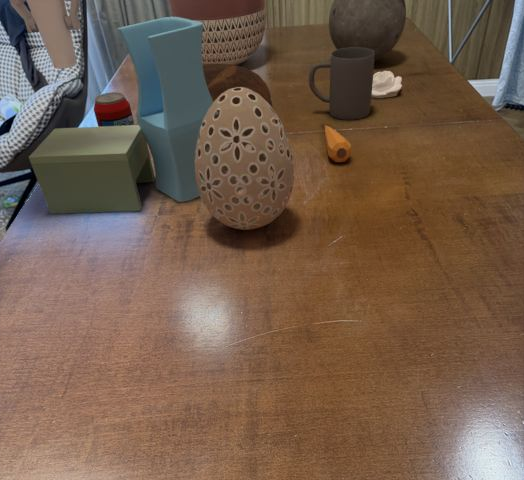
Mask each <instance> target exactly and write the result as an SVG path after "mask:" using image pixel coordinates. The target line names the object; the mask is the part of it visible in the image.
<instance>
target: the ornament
mask: <svg viewBox="0 0 524 480" xmlns="http://www.w3.org/2000/svg"><path fill="white" fill-rule="evenodd" d="M236 88H241V90H235V89H236ZM222 97H225V99H224V100H223V101H221V102H219V100H220V99H221V98H222ZM217 110H220V112H219V113H218V114H215V112H216V111H217ZM255 113H256V114H257V115H256V114H255ZM273 120H274V122H273ZM202 125H203V127H202ZM202 125H201V127H200V131H199V134H198V139H197V144H196V150H195V176H196V182H197V187H198V191H199V193H200V196H199V197H200V198H201V201H202V203H203V205H204V206H205V208H206V210H207V211H208V212H209V213H210V214H211V216H213V218H214V219H216V220H217V221H219V222H220V223H222V224H223V225H225V226H227V227H230V228H231V229H236V230H243V231H244V230H245V231H247V230H254V229H259V228H262V227H265V226H267V225H268V224H271V223H272V222H274V220H276V219H277V218H278V217H279V216H280V215H281V214H282V213H283V211H284V209H285V208H286V206H287V204H288V203H289V200H290V198H291V195H292V191H293V188H294V181H295V180H294V179H295V167H294V166H295V165H294V164H295V163H294V157H293V151H292V147H291V144H290V139H289V137H288V134H287V132H286V129H285V128H284V125H283V123H282V120H281V119H280V118H279V116H278V115H277V113H276V111H275V110H274V108H273V107H272V106H271V104H269V103H268V102H267V101H266V100H265V99H264V98H263V97H261V96H260V95H259V94H257V93H256V92H254V91H252V90H250V89H248V88H244V87H235V88H231V89H228V90H227V91H225V92H224V93H222V94H221V95H220V96H219V97H218V98H217V99H216V100H215V101H214V102H213V104H212V105H211V107H210V108H209V110H208V111H207V113H206V115H205V117H204V119H203V122H202ZM265 126H266V127H265ZM281 130H282V131H281ZM268 143H270V145H271V146H269V145H268ZM226 144H228V146H226V147H225V148H224V146H225V145H226ZM247 145H250V146H251V149H250V148H247V147H246V146H247ZM281 147H282V148H283V150H282V149H280V148H281ZM199 148H200V149H199ZM208 148H210V150H209V152H208V151H207V149H208ZM214 156H215V159H214V161H213V160H212V158H213V157H214ZM271 171H272V172H273V173H272V174H273V175H271ZM199 173H200V174H199ZM202 176H203V177H204V180H205V182H204V181H203V180H202ZM260 179H261V180H260ZM259 180H260V181H259ZM212 183H213V185H212ZM219 183H220V184H219ZM209 184H210V185H211V186H210V185H209ZM242 190H244V192H243V193H242V194H239V192H240V191H242ZM249 198H250V200H249Z"/></svg>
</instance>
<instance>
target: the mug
mask: <svg viewBox="0 0 524 480" xmlns="http://www.w3.org/2000/svg"><path fill="white" fill-rule="evenodd" d="M318 69H329V96H326V95H324V94H323V93H321V91H320V90H319V89H318V88H317V87H316V85H315V74H316V71H317V70H318ZM374 71H375V61H374V51H373V50H371V49H369V48H363V47H348V48H341V49H334V50H333V51H332V52H331V54H330V61H325V62H324V61H322V62H317V63H314V64H313V65H312V66H311V67H310V70H309V73H308V85H309V89H310V90H311V92H312V94H313V95H314V96H315V97H316V98H317V99H318V100H319V101H322V102H323V103H327V104H328V105H329V106H328V110H329V114H330V116H331V117H333V118H334V119H336V120H344V121H353V120H360V119H363V118H366V117H367V116H368V115H369V114H370V111H371V104H372V97H371V96H372V85H373V75H374Z"/></svg>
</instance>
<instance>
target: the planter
mask: <svg viewBox="0 0 524 480" xmlns="http://www.w3.org/2000/svg"><path fill="white" fill-rule="evenodd" d="M167 3H168V8H169V14H170V17H180V18H184V19H189V20H194V21H198V22H202V23H203V34H202V65H204V64H229V65H235V66H238V65H240V64H242V63H244V62H246V61H247V60H248V59H249V58H251V56H253V54H255V52H256V51H257V50H258V48H259V47H260V45H261V43H262V42H263V39H264V36H265V31H266V24H267V0H167Z"/></svg>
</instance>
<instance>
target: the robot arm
mask: <svg viewBox="0 0 524 480" xmlns="http://www.w3.org/2000/svg"><path fill="white" fill-rule="evenodd" d="M26 2H27V1H26V0H9V3H10V6H11V7H12V8H13V9H14V11H16V12H17V14H18V15H19V16H20V17H21V18H22V20H23V21H24V24H25V27H26V30H27V32H28V33H40V32H39V30H38V28H37V25H36V23H35V20H34V18H33V15H32V13H31V10H30V9H28V7H27V6H26V4H25V3H26ZM66 2H70V7H69V13H67V15H65V16H64V19H65V22H66V23H67V25H66V26H67V29H68V30H71V31H77V30H78V31H79V30H80V29H81V28H82V27H81V21H80V18H79V11H80V6H81V3H82V0H66Z"/></svg>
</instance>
